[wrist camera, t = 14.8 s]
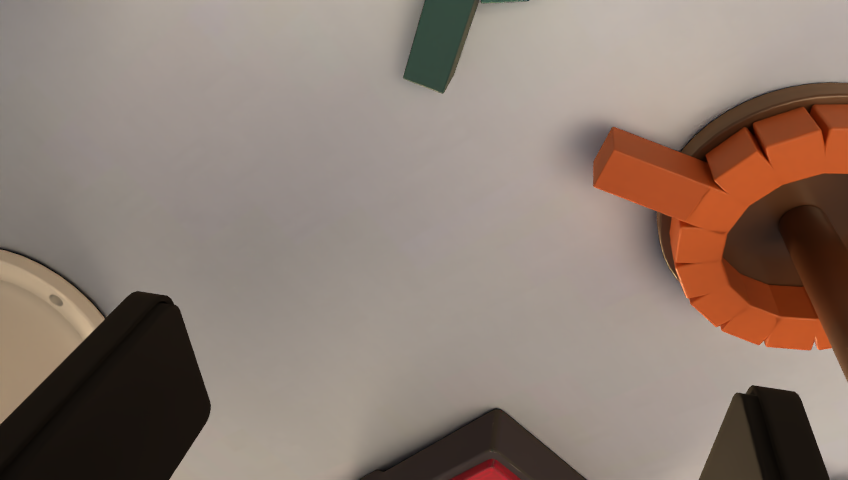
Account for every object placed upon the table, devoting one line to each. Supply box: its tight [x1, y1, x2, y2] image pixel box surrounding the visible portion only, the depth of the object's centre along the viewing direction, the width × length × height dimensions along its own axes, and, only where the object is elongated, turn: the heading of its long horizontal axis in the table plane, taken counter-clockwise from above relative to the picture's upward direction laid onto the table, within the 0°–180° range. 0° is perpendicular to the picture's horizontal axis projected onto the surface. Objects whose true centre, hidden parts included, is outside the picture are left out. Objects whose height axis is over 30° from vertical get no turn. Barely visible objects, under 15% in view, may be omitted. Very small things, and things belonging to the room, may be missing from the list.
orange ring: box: [593, 104, 848, 350], centre depth 21 cm, size 13×9×2 cm
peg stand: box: [656, 83, 848, 382], centre depth 18 cm, size 10×10×12 cm
